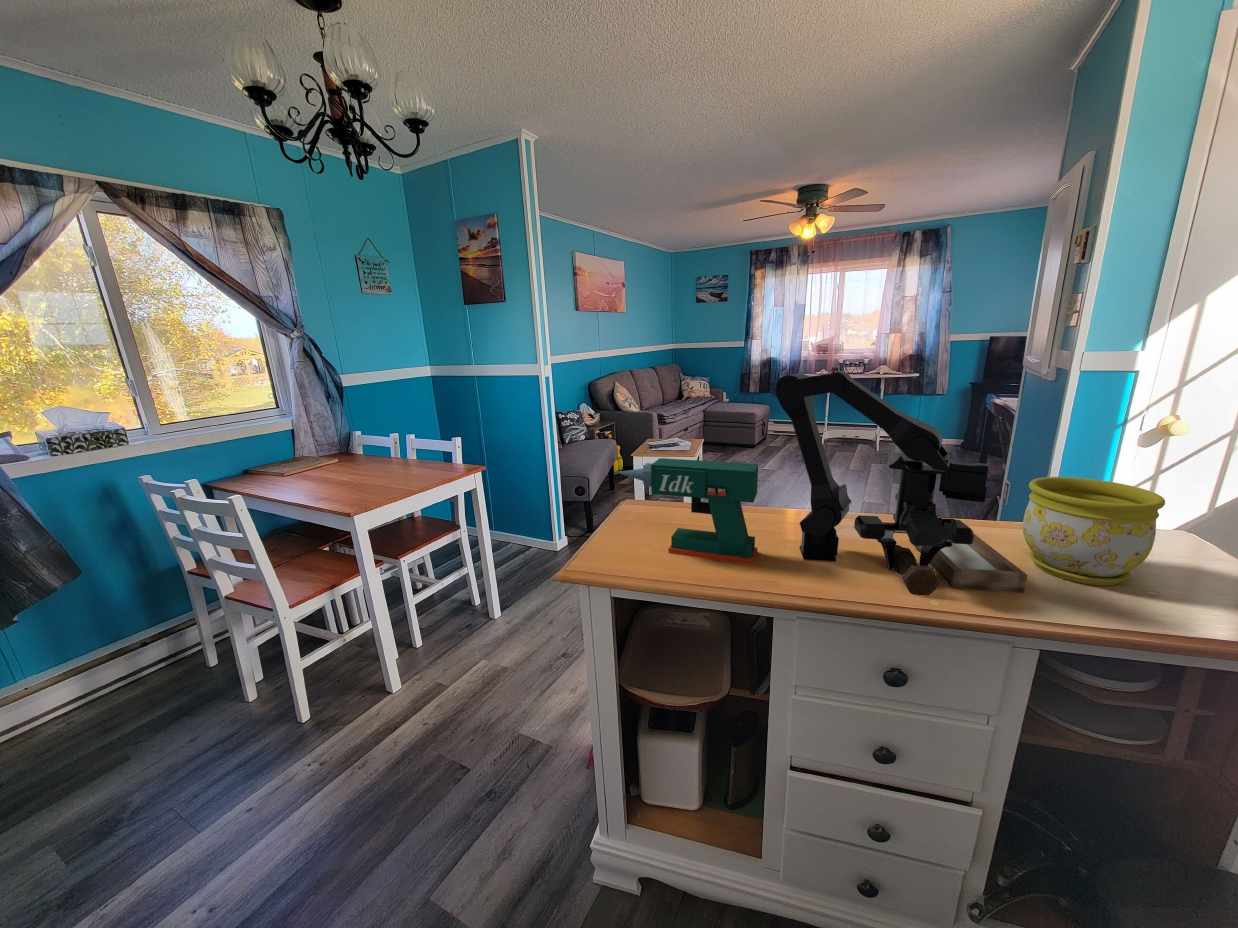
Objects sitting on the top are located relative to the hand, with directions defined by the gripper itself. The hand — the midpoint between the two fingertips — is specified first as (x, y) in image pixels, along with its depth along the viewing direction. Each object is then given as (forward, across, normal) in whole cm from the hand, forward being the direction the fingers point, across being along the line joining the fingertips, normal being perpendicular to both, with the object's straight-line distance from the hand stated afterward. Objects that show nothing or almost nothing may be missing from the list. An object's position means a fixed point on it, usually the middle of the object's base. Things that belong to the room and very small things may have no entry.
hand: (905, 570), depth 92 cm
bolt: (+1, 0, 0) cm, 1 cm away
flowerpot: (+1, +32, +7) cm, 33 cm away
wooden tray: (+1, +12, +6) cm, 14 cm away
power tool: (+1, -44, +6) cm, 44 cm away
